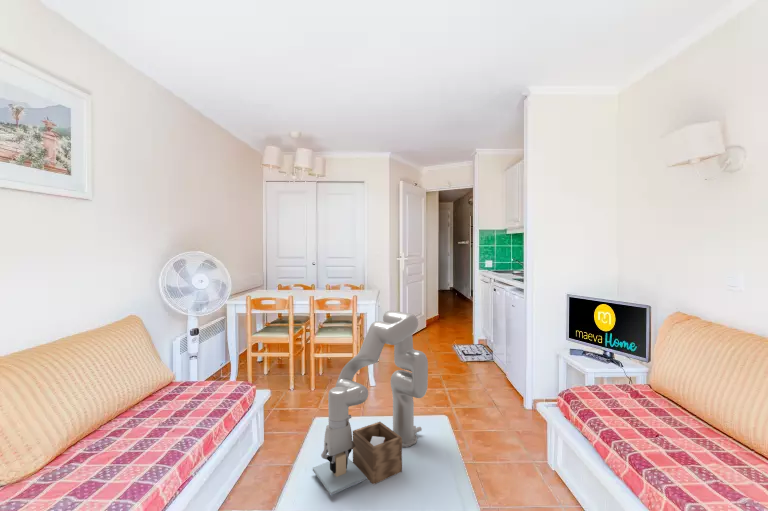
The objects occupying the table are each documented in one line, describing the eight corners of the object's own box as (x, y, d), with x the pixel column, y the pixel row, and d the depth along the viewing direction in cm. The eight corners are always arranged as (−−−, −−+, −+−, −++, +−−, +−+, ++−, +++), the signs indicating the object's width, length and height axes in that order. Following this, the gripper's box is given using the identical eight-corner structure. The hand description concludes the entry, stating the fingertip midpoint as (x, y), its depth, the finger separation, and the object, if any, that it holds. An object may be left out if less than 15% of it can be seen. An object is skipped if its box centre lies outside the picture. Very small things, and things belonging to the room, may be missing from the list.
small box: (381, 474, 133) (381, 448, 133) (367, 473, 134) (367, 446, 134) (385, 462, 141) (385, 437, 141) (372, 460, 142) (372, 435, 142)
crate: (380, 452, 148) (380, 421, 148) (401, 471, 135) (401, 437, 135) (352, 463, 140) (352, 430, 140) (373, 484, 128) (373, 448, 127)
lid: (345, 460, 141) (345, 438, 141) (366, 482, 128) (366, 458, 128) (312, 473, 133) (312, 449, 133) (331, 498, 120) (330, 472, 119)
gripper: (353, 411, 138) (353, 456, 138) (313, 423, 128) (314, 472, 129) (362, 419, 132) (362, 466, 132) (322, 432, 122) (322, 483, 123)
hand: (338, 468), depth 130 cm, fingers closed on lid, 4 cm apart
